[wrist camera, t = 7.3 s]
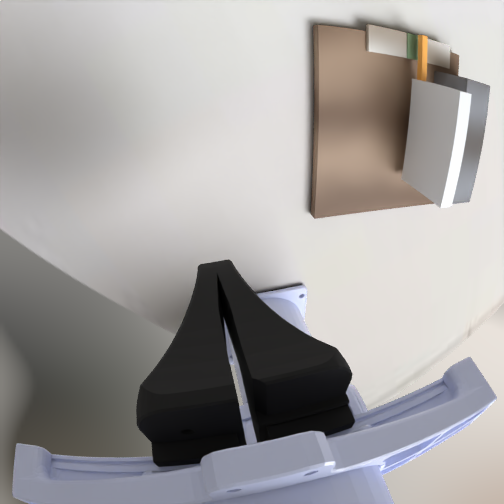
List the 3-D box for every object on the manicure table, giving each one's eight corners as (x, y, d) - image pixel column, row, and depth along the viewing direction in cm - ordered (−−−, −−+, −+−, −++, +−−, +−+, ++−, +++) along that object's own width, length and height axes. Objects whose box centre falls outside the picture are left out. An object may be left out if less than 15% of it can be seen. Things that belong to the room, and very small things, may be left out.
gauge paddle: (412, 178, 22) (451, 206, 18) (401, 179, 22) (440, 207, 18) (425, 37, 15) (473, 42, 11) (412, 33, 15) (462, 37, 11)
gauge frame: (433, 199, 25) (463, 222, 22) (310, 213, 24) (334, 244, 20) (452, 48, 17) (491, 56, 13) (312, 18, 15) (345, 11, 12)
